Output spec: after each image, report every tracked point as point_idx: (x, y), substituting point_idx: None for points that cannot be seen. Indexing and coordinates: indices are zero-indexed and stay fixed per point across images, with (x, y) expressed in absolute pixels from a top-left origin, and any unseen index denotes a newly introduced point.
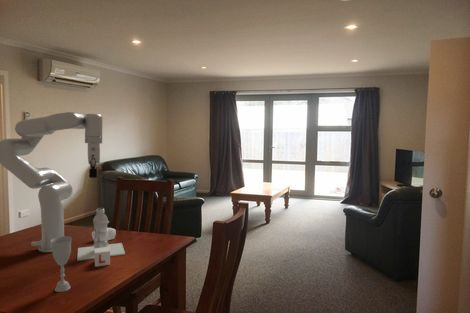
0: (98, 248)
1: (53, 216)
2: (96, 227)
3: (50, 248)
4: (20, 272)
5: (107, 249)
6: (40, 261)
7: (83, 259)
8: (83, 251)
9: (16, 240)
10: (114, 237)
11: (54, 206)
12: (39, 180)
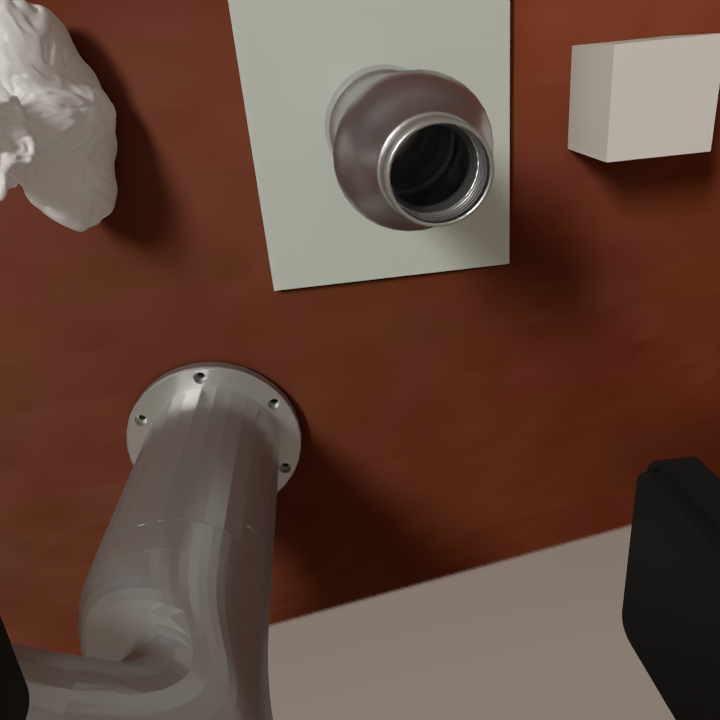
0: (621, 131)
1: (265, 582)
2: (455, 181)
3: (279, 448)
4: (565, 493)
5: (677, 56)
6: (439, 449)
7: (508, 226)
8: (362, 245)
9: None
10: (56, 18)
11: (258, 650)
12: None
